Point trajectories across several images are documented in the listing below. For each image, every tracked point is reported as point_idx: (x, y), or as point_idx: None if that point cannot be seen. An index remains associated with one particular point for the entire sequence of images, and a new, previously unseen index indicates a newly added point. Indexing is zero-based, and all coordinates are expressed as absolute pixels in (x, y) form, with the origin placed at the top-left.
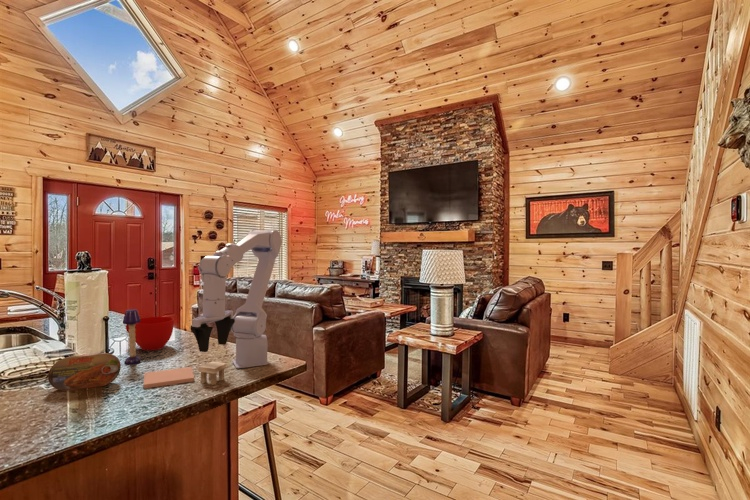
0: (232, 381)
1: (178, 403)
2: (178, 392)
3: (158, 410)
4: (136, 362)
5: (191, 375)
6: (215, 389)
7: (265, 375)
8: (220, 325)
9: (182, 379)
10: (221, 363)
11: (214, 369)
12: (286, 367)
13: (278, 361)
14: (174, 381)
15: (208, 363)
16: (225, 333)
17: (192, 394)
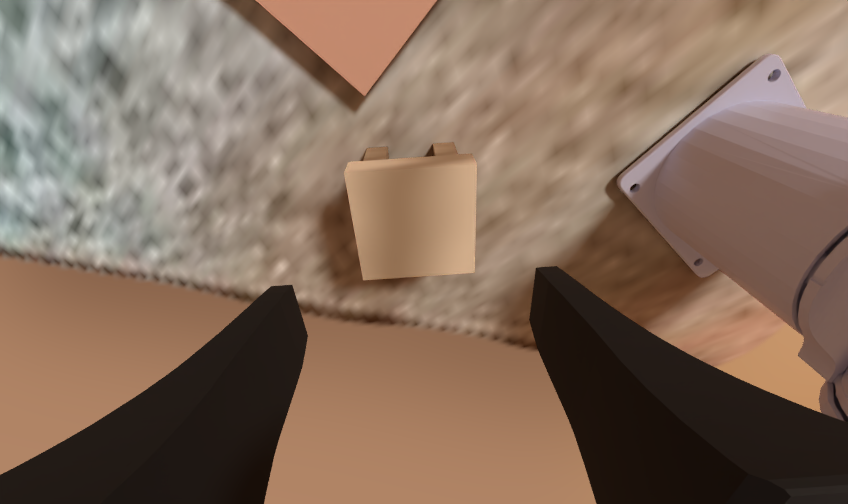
0: None
1: (148, 239)
2: (213, 142)
3: (51, 221)
4: None
5: (385, 43)
6: (339, 265)
7: None
8: (641, 465)
9: (306, 44)
10: (459, 251)
11: (363, 277)
12: None
13: None
14: (263, 6)
15: (427, 180)
16: (575, 412)
17: (243, 221)
